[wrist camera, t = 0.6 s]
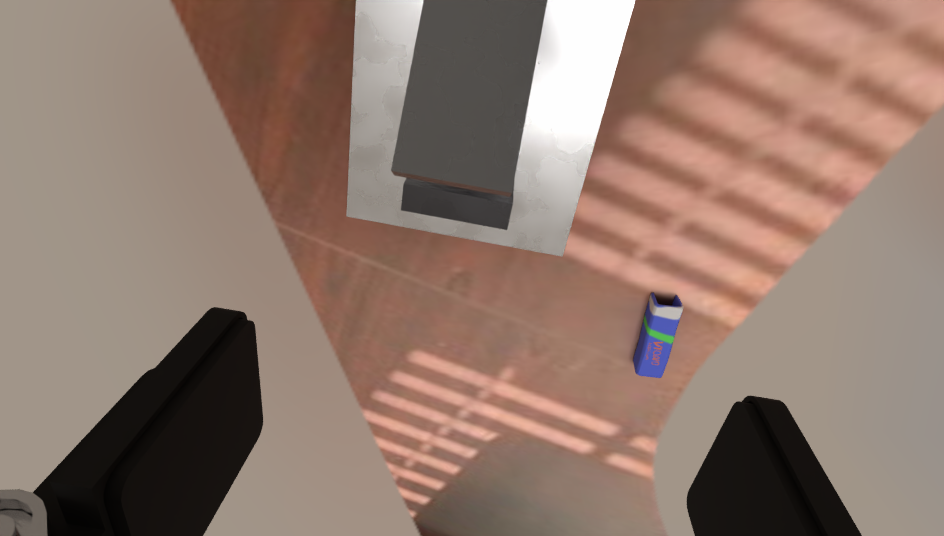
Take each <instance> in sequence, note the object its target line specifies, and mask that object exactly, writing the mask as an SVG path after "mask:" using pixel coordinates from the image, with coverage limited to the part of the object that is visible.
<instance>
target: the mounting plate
mask: <svg viewBox="0 0 944 536" xmlns="http://www.w3.org/2000/svg"><path fill="white" fill-rule="evenodd" d="M423 1H424V0H356V13H355V35H354V58H353V81H352V104H351V127H350V149H349V172H348V195H347V216H348V217H353V218H358V219H364V220H369V221H374V222H380V223H385V224H390V225H396V226H401V227H407V228H412V229H417V230H423V231H428V232H433V233H439V234H444V235H450V236H455V237H460V238H466V239H471V240H476V241H482V242H487V243H492V244H498V245H503V246H509V247H514V248H519V249H525V250H530V251H535V252H541V253H546V254H552V255H557V256H562V257H563V253H564V250H565V246H566V242H567V239H568V235H569V232H570V228H571V225H572V221H573V218H574V214H575V211H576V207H577V204H578V200H579V197H580V193H581V190H582V186H583V182H584V179H585V175H586V172H587V168H588V165H589V161H590V158H591V154H592V151H593V147H594V144H595V140H596V137H597V133H598V129H599V126H600V122H601V119H602V115H603V112H604V108H605V105H606V101H607V98H608V94H609V91H610V87H611V84H612V80H613V77H614V73H615V69H616V66H617V62H618V59H619V55H620V52H621V48H622V45H623V41H624V38H625V34H626V31H627V27H628V24H629V20H630V16H631V13H632V9H633V6H634V2H635V0H547V5H546V10H545V16H544V21H543V27H542V32H541V37H540V43H539V48H538V54H537V59H536V65H535V70H534V75H533V81H532V86H531V92H530V97H529V102H528V108H527V113H526V119H525V124H524V129H523V135H522V140H521V146H520V151H519V156H518V162H517V167H516V173H515V178H514V183H513V189H512V194H511V196H510V197H507V196H502V195H496V194H491V193H486V192H480V191H475V190H469V189H464V188H459V187H453V186H448V185H443V184H437V183H432V182H426V181H421V180H416V179H410V178H405V177H400V176H394V174H393V173H392V171H391V168H392V162H393V157H394V152H395V147H396V141H397V136H398V131H399V126H400V121H401V115H402V110H403V105H404V100H405V95H406V89H407V84H408V79H409V74H410V68H411V63H412V58H413V53H414V48H415V42H416V37H417V32H418V27H419V22H420V16H421V11H422V6H423Z"/></svg>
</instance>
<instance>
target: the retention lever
mask: <svg viewBox="0 0 944 536" xmlns="http://www.w3.org/2000/svg"><path fill="white" fill-rule="evenodd" d="M546 5H547V0H424V1H423V6H422V11H421V16H420V22H419V27H418V32H417V37H416V42H415V48H414V53H413V58H412V63H411V68H410V74H409V79H408V84H407V89H406V95H405V100H404V105H403V110H402V115H401V121H400V126H399V131H398V136H397V141H396V147H395V152H394V157H393V162H392V168H391V171H392V173H393V174H394V176H400V177H405V178H410V179H416V180H421V181H426V182H432V183H437V184H443V185H448V186H453V187H459V188H464V189H469V190H475V191H480V192H486V193H491V194H496V195H502V196H507V197H510V196H511V194H512V189H513V183H514V178H515V173H516V167H517V162H518V156H519V151H520V146H521V140H522V135H523V129H524V124H525V119H526V113H527V108H528V102H529V97H530V92H531V86H532V81H533V75H534V70H535V65H536V59H537V54H538V48H539V43H540V37H541V32H542V27H543V21H544V16H545V10H546Z"/></svg>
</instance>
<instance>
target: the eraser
mask: <svg viewBox="0 0 944 536" xmlns="http://www.w3.org/2000/svg"><path fill="white" fill-rule="evenodd" d="M682 311H683V305H682V303H681V301H680V299H679V297H678V296H677V295H676V296H675V298H674V301H673V304H672V306H669V305H660V304H658V303H657V300H656V298H655V295H654V293H651V295H650V298H649V302H648V305H647V309H646V312H645V316H644V321H643V325H642V329H641V334H640V338H639V342H638V345H637V348H636V352H635V355H634V359H633V362H634V367H635V372H636V374H638V375H640V376H648V377H656V378H661V377H662V375H663V373H664V370H665V367H666V364H667V361H668V359H669V355H670V352H671V348H672V344H673V340H674V337H675V333H676V329H677V326H678V323H679V320H680V317H681V314H682Z"/></svg>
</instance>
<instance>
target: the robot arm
mask: <svg viewBox="0 0 944 536" xmlns="http://www.w3.org/2000/svg"><path fill="white" fill-rule="evenodd" d="M262 426H263V413H262V402H261V389H260V379H259V367H258V355H257V343H256V333H255V324H254V322H253V321H248V320H247V316H246V314H245V313H244V312H241V311H235V310H229V309H223V308H216V307H214V308H211V309H210V310H208V311H207V312H206V313H205V314H204V316H203V317H202V318H201V319H200V320H199V321H198V322H197V323H196V324H195V325H194V326H193V327H192V329H191V330H190V331H189V332H188V333H187V334H186V335H185V336H184V337H183V338H182V340H181V341H180V342H179V343H178V344H177V345H176V346H175V347H174V348H173V349H172V350H171V352H169V354H168V355H167V356H166V357H165V358H164V359H163V360H162V361H161V362H160V363H159V364H158V365H157V367H156V368H154V369H151V370H149V371H147V372H146V373H145V374H144V375H143V376H142V377H141V378H140V379H139V380H138V381H137V382H136V383H135V384H134V385H133V386H132V387H131V388H130V389H129V390H128V391H127V392H126V394H125V395H124V396H123V397H122V398H121V399H120V400H119V401H118V402H117V403H116V404H115V405H114V406H113V408H112V409H111V410H110V411H109V412H108V413H107V414H106V415H105V416H104V417H103V418H102V419H101V420H100V421H99V422H98V423H97V425H96V426H95V427H94V428H93V429H92V430H91V431H90V432H89V433H88V434H87V435H86V436H85V437H84V438H83V439H82V440H81V442H80V443H79V444H78V445H77V446H76V447H75V448H74V449H73V450H72V451H71V452H70V453H69V454H68V456H66V458H65V459H64V460H63V461H62V462H61V463H60V464H59V465H58V466H57V467H56V468H55V469H54V470H53V471H52V473H51V474H50V475H49V476H48V477H47V478H46V479H45V480H44V481H43V482H42V483H41V484H40V485H39V487H37V489H36V490H35V491H34V492H33V493H31V492H27V491H24V490H19V489H18V490H0V536H203V535H204V533H205V531H206V530H207V527H208V526H209V524H210V522H211V521H212V519H213V517H214V515H215V514H216V512H217V510H218V508H219V507H220V505H221V503H222V501H223V500H224V498H225V496H226V494H227V493H228V491H229V489H230V487H231V485H232V484H233V482H234V480H235V479H236V477H237V475H238V473H239V471H240V470H241V468H242V466H243V464H244V462H245V461H246V459H247V457H248V455H249V454H250V452H251V450H252V449H253V447H254V445H255V443H256V442H257V440H258V438H259V436H260V433H261V430H262ZM687 509H688V513H689V517H690V520H691V524H692V527H693V531H694V534H695V536H862V535H861V533H860V532H859V530H858V528H857V527H856V525H855V523H854V522H853V520H852V518H851V516H850V515H849V513H848V511H847V510H846V508H845V506H844V504H843V503H842V501H841V499H840V498H839V496H838V494H837V492H836V491H835V489H834V487H833V485H832V484H831V482H830V480H829V479H828V477H827V475H826V474H825V472H824V470H823V468H822V467H821V465H820V463H819V462H818V460H817V458H816V456H815V455H814V453H813V451H812V449H811V448H810V446H809V444H808V442H807V441H806V439H805V437H804V436H803V434H802V432H801V430H800V429H799V427H798V425H797V424H796V422H795V420H794V418H793V417H792V415H791V413H790V412H789V410H788V408H787V406H786V405H785V404H784V403H783V402H781V401H780V400H774V399H768V398H762V397H755V396H747V397H746V398H744V400H743V401H742V402H736V403H735V404H734V405H733V406H732V408H731V410H730V412H729V414H728V416H727V418H726V420H725V422H724V424H723V426H722V427H721V429H720V431H719V433H718V435H717V437H716V439H715V441H714V443H713V445H712V447H711V449H710V451H709V453H708V454H707V456H706V458H705V460H704V462H703V464H702V466H701V468H700V470H699V472H698V474H697V476H696V478H695V480H694V481H693V483H692V485H691V487H690V489H689V492H688V495H687Z"/></svg>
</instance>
